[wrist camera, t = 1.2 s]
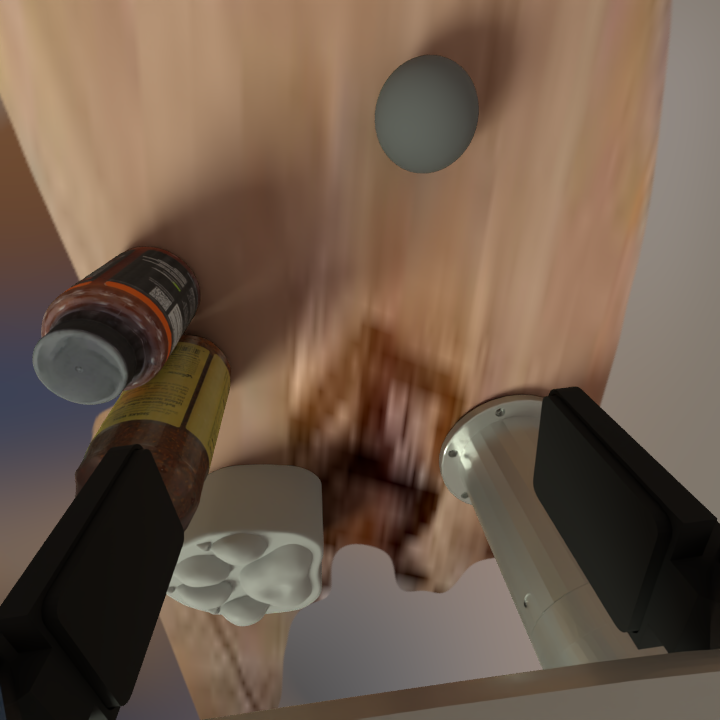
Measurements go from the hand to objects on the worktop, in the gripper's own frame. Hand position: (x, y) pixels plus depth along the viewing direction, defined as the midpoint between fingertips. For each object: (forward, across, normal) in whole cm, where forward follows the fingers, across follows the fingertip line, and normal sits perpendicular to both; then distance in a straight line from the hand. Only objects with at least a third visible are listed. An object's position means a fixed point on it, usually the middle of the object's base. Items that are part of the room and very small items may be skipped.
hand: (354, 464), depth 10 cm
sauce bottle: (+22, +12, +7) cm, 26 cm away
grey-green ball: (+18, -6, -8) cm, 21 cm away
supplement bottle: (+21, +12, +1) cm, 25 cm away
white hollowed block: (+22, +11, +22) cm, 33 cm away
